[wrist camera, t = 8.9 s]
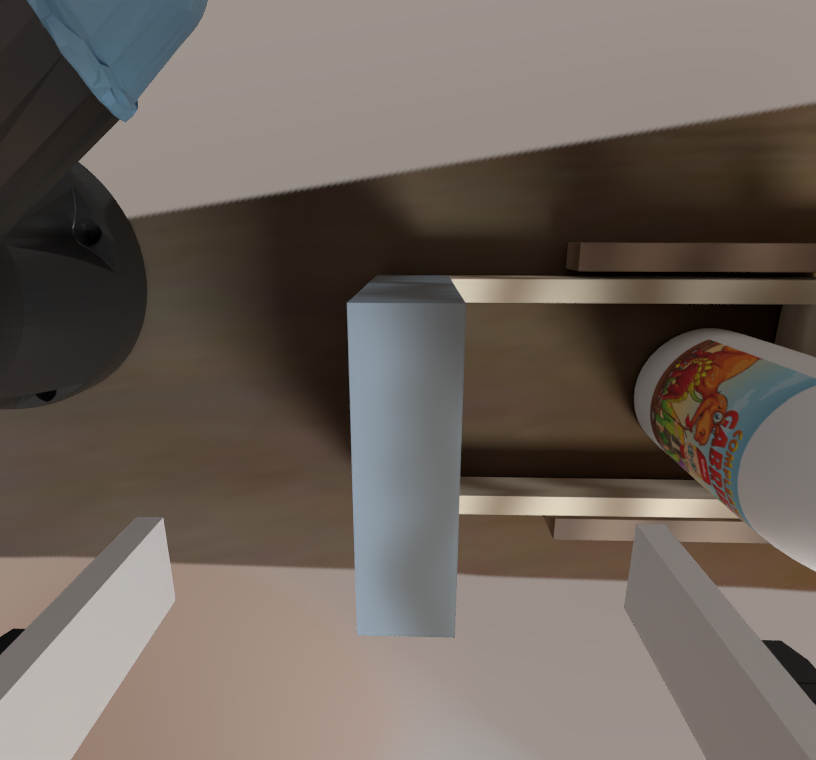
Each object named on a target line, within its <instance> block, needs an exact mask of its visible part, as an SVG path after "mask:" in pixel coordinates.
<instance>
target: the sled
mask: <svg viewBox="0 0 816 760" xmlns="http://www.w3.org/2000/svg"><path fill="white" fill-rule="evenodd" d="M465 302H475V303H647V304H782V309H781V314H780V319H779V324H778V329H777V334H776V338H775V343H774V344H775V345H779V346H782V347H785V348H788V349H791V350H794V351H798V352H801V353H804V354H807V355H810V356H813V357H816V277H708V276H485V275H377V276H375V277H374V278H373V279H372V280H371V281H370V282H369V283H368V284H367V285H366V286H365V287H364V288H362V289H361V290H360V291H359V292H358V293H357V294H356V295H355V296H354V297H353V298H352V299H351V300H349V301H348V302H347V322H348V355H349V387H350V420H351V453H352V486H353V519H354V552H355V584H356V617H357V635H364V636H365V635H366V636H408V637H453V638H454V637H455V616H456V614H455V613H456V586H457V556H458V527H459V514H496V515H559V516H621V517H683V518H739V517H737V516H736V515H735V514H734V513H733V512H732V511H731V510H729V509H728V508H727V507H726V506H725V505H724V504H723V503H721V502H720V501H719V500H718V499H717V498H716V497H715V496H713V495H712V494H711V493H710V492H709V491H708V490H707V489H706V488H704V487H703V486H702V485H701V484H700V483H699V482H698V481H697V480H653V479H583V478H513V477H460V467H461V437H462V407H463V378H464V348H465V318H466V303H465Z"/></svg>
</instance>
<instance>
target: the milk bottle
mask: <svg viewBox="0 0 816 760" xmlns="http://www.w3.org/2000/svg"><path fill="white" fill-rule="evenodd" d="M634 407H635V413H636V416H637V419H638V421H639V424H640V426H641V427H642V429H643V430H644V432H645V433H646V434H647V435H648V436H649V437H650V438H651V439H652V440H653V441H654V442H655V443H656V444H657V445H658V446H659V447H660V448H661V449H662V450H663V451H664V452H665V453H667V454H668V455H669V456H670V457H671V458H672V459H673V460H674V461H675V462H677V463H678V464H679V465H680V466H681V467H682V468H683V469H684V470H685V471H687V472H688V473H689V474H690V475H691V476H692V477H693V478H694V479H695V480H697V481H698V482H699V483H700V484H701V485H702V486H703V487H704V488H706V489H707V490H708V491H709V492H710V493H711V494H712V495H713V496H715V497H716V498H717V499H718V500H719V501H720V502H721V503H723V504H724V505H725V506H726V507H727V508H728V509H729V510H731V511H732V512H733V513H734V514H735V515H736V516H737V517H739V518H740V519H741V520H742V521H743V522H745V523H746V524H747V525H748V526H749V527H751V528H752V529H753V530H754V531H756V532H757V533H758V534H759V535H761V536H762V537H763V538H764V539H766V540H767V541H768V542H769V543H771V544H772V545H773V546H774V547H776V548H777V549H779V550H780V551H782V552H783V553H785V554H786V555H788V556H789V557H791V558H792V559H794V560H796V561H797V562H799V563H801V564H803V565H805V566H807V567H808V568H810V569H812V570H814V571H816V357H813V356H810V355H807V354H804V353H801V352H798V351H794V350H791V349H788V348H785V347H782V346H779V345H775V344H772V343H769V342H766V341H763V340H760V339H756V338H753V337H750V336H747V335H743V334H740V333H736V332H732V331H728V330H724V329H717V328H704V329H697V330H693V331H689V332H686V333H683V334H681V335H679V336H677V337H675V338H673V339H671V340H669V341H668V342H666V343H665V344H663V345H662V346H660V347H659V348H658V349H657V350H656V351H655V352H654V353H653V354H652V355H651V356H650V357H649V359H648V360H647V362H646V363H645V364H644V366H643V367H642V369H641V372H640V374H639V376H638V378H637V382H636V386H635V392H634Z"/></svg>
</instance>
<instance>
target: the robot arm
mask: <svg viewBox="0 0 816 760" xmlns="http://www.w3.org/2000/svg"><path fill="white" fill-rule="evenodd" d="M207 1H208V0H0V409H24V408H33V407H39V406H44V405H49V404H52V403H56V402H59V401H62V400H64V399H67V398H69V397H71V396H73V395H76V394H78V393H80V392H82V391H84V390H86V389H89V388H91V387H93V386H95V385H96V384H98V383H100V382H101V381H103V380H104V379H106V378H107V377H108V376H110V375H111V374H112V373H113V372H114V371H115V370H116V369H117V368H118V367H119V366H120V365H121V364H122V363H123V362H124V361H125V359H126V358H127V356H128V355H129V354H130V352H131V350H132V349H133V347H134V345H135V343H136V341H137V339H138V336H139V334H140V331H141V328H142V325H143V321H144V316H145V311H146V302H147V282H146V273H145V267H144V262H143V258H142V254H141V250H140V247H139V244H138V241H137V239H136V236H135V234H134V231H133V229H132V227H131V225H130V223H129V221H128V219H127V218H126V216H125V214H124V212H123V211H122V209H121V208H120V206H119V205H118V203H117V202H116V200H115V199H114V198H113V196H112V195H111V194H110V192H109V191H108V190H107V189H106V188H105V186H104V185H103V184H102V183H101V182H100V181H99V180H98V179H97V178H96V177H95V176H94V175H93V174H92V173H91V172H90V171H88V169H86V168H85V167H84V166H83V165H81V164H80V163H79V162H78V161H79V160H80V159H81V158H82V157H83V156H84V155H85V154H86V153H87V152H88V151H89V150H90V149H91V148H92V147H93V146H94V145H95V144H96V143H97V142H98V141H99V140H100V139H101V138H102V137H103V136H104V135H105V134H106V133H107V132H108V131H109V130H110V129H111V128H112V127H113V126H114V125H115V124H116V123H117V122H118V120H122V121H124V122H126V121H127V120H129V119H130V118H131V117H132V116H133V115H134V113H135V112H136V111H137V109H138V101H137V99H138V98H139V96H140V95H141V94H142V93H143V91H144V90H145V89H146V88H147V86H148V85H149V84H150V83H151V82H152V80H153V79H154V78H155V77H156V75H157V74H158V73H159V72H160V70H161V69H162V68H163V67H164V65H165V64H166V63H167V62H168V60H169V59H170V58H171V57H172V55H173V54H174V53H175V52H176V50H177V49H178V48H179V47H180V45H181V44H182V43H183V42H184V41H185V40H186V39H187V37H188V36H189V35H190V34H191V33H192V31H193V30H194V29H195V28H196V27H197V25H198V23H199V22H200V20H201V18H202V16H203V13H204V11H205V8H206V5H207ZM174 601H175V593H174V587H173V580H172V573H171V566H170V560H169V553H168V547H167V540H166V533H165V527H164V520H163V517H136V518H135V519H134V520H133V521H132V522H131V523H130V524H129V525H128V526H127V527H126V528H125V529H124V530H123V531H122V532H121V533H120V534H119V535H118V536H117V537H116V538H115V539H114V540H113V541H112V542H111V543H110V544H109V545H108V546H107V547H106V548H105V549H104V550H103V551H102V552H101V553H100V554H99V555H98V556H97V557H96V558H95V559H94V560H93V561H92V562H91V563H90V564H89V565H88V566H87V567H86V568H85V569H84V570H83V572H81V574H80V575H79V576H78V577H77V578H76V579H75V580H74V581H73V582H72V583H71V584H70V585H69V586H68V587H67V588H66V589H65V590H64V591H63V592H62V593H61V594H60V595H59V596H58V597H57V598H56V599H55V600H54V601H53V602H52V603H51V604H50V605H49V606H48V607H47V608H46V609H45V610H44V611H43V612H42V613H41V614H40V615H39V616H38V617H37V618H36V619H35V620H34V621H33V622H32V623H31V624H30V625H29V626H28V627H27V628H26V629H12V630H11V631H9V632H8V633H6V634H4V635H3V636H1V637H0V760H71V758H72V756H73V755H74V754H75V752H76V751H77V749H78V748H79V746H80V745H81V743H82V742H83V740H84V738H85V737H86V736H87V734H88V732H89V731H90V729H91V728H92V726H93V725H94V723H95V722H96V720H97V719H98V717H99V716H100V714H101V713H102V711H103V710H104V708H105V707H106V705H107V704H108V702H109V701H110V699H111V697H112V696H113V694H114V693H115V691H116V690H117V688H118V687H119V685H120V684H121V682H122V681H123V679H124V677H125V676H126V675H127V673H128V672H129V670H130V669H131V667H132V665H133V664H134V662H135V661H136V659H137V658H138V656H139V655H140V653H141V652H142V650H143V649H144V647H145V646H146V644H147V643H148V641H149V640H150V638H151V637H152V635H153V633H154V632H155V631H156V629H157V627H158V626H159V624H160V623H161V621H162V620H163V618H164V617H165V615H166V614H167V612H168V611H169V609H170V608H171V606H172V605H173V603H174ZM624 608H625V610H626V612H627V614H628V615H629V617H630V619H631V621H632V623H633V625H634V627H635V628H636V630H637V632H638V634H639V636H640V638H641V639H642V641H643V643H644V645H645V647H646V649H647V651H648V652H649V654H650V656H651V658H652V660H653V662H654V663H655V665H656V667H657V669H658V671H659V672H660V674H661V676H662V678H663V680H664V682H665V684H666V686H667V687H668V689H669V691H670V693H671V695H672V696H673V698H674V700H675V702H676V704H677V706H678V708H679V709H680V711H681V713H682V715H683V717H684V718H685V721H686V722H687V724H688V726H689V728H690V730H691V732H692V733H693V735H694V737H695V739H696V741H697V743H698V744H699V746H700V748H701V750H702V752H703V754H704V755H705V757H706V759H707V760H816V669H815V667H814V666H813V665H812V664H811V663H810V662H809V661H808V660H807V659H806V658H804V657H803V656H801V655H800V654H799V653H797V652H796V651H795V650H793V649H792V648H790V647H789V646H787V645H786V644H785V643H783V642H782V641H771V640H761V639H760V638H759V637H758V636H757V635H756V633H755V632H754V631H753V630H752V629H751V627H750V626H749V625H748V624H747V623H746V621H745V620H744V619H743V618H742V617H741V615H740V614H739V613H738V612H737V611H736V610H735V608H734V607H733V606H732V605H731V604H730V602H729V601H728V600H727V599H726V598H725V596H724V595H723V594H722V593H721V591H720V590H719V589H718V588H717V587H716V585H715V584H714V583H713V582H712V581H711V579H710V578H709V577H708V576H707V575H706V573H705V572H704V571H703V570H702V569H701V567H700V566H699V565H698V564H697V563H696V561H695V560H694V559H693V558H692V557H691V555H690V554H689V553H688V552H687V551H686V549H685V548H684V547H683V546H682V545H681V543H680V542H679V541H678V540H677V539H676V537H675V536H674V535H673V534H672V533H671V531H670V530H669V529H668V528H667V527H666V525H665V524H636V529H635V536H634V543H633V550H632V557H631V563H630V570H629V577H628V584H627V591H626V598H625V605H624Z"/></svg>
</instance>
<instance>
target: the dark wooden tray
mask: <svg viewBox="0 0 816 760" xmlns="http://www.w3.org/2000/svg"><path fill="white" fill-rule="evenodd" d="M566 268H567V269H571V270H575V271H645V272H816V243H627V242H568V248H567V260H566ZM544 518H545V521H546V523H547V525H548V528H549V530H550V532H551V535H552V537H553V539H557V540H615V541H634V536H635V529H636V524H665V525H666V527H667V528H668V529H669V530H670V531H671V533H672V534H673V535H674V536H675V537H676V539H677V540H678V541H679V542H731V543H769V542H768V541H767V540H766V539H764V538H763V537H762V536H761V535H759V534H758V533H757V532H756V531H754V530H753V529H752V528H751V527H749V526H748V525H747V524H746V523H745V522H743V521H742V520H741V519H740V518H683V517H621V516H559V515H545V517H544Z"/></svg>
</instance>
